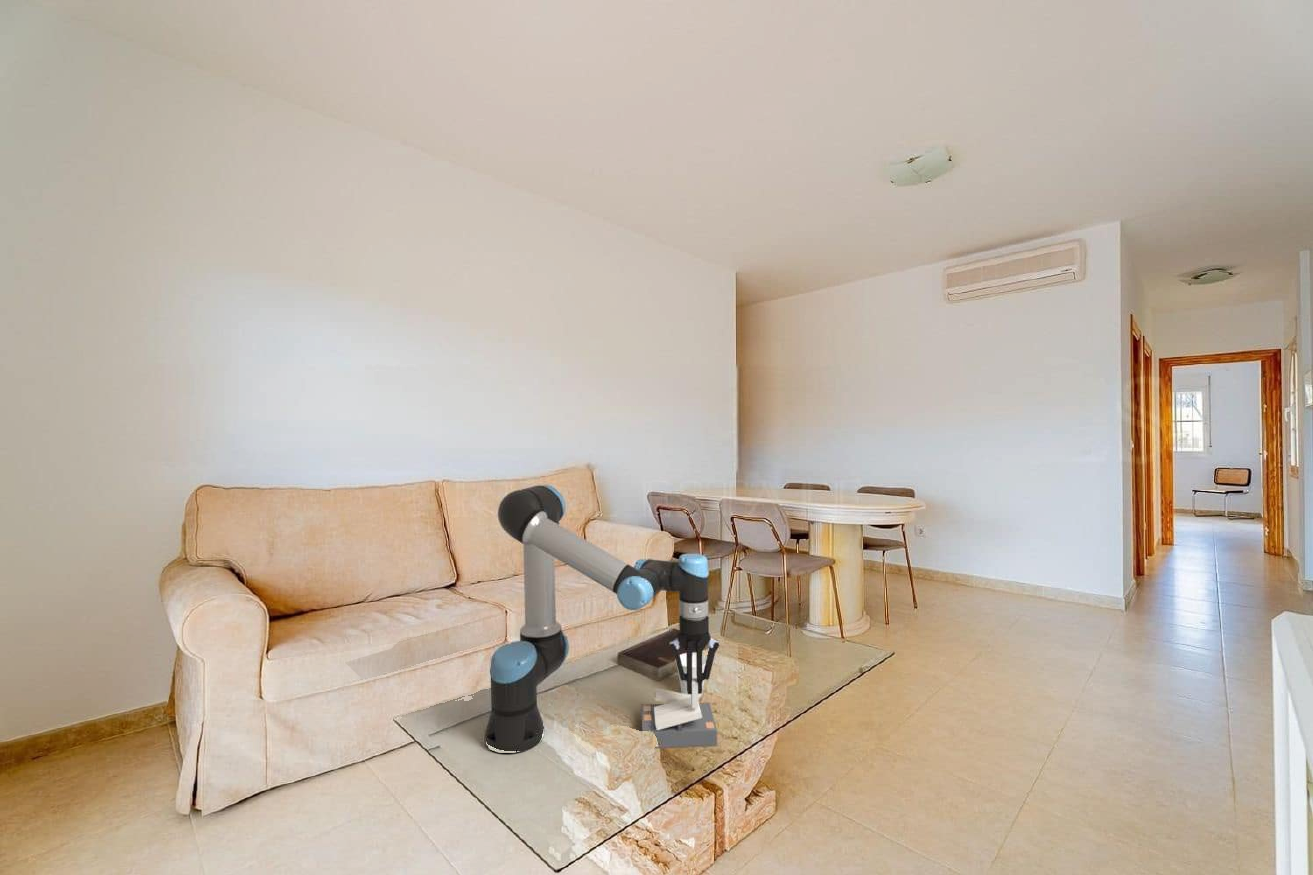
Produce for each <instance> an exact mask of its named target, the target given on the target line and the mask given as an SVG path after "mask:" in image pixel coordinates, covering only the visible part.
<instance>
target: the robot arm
mask: <svg viewBox="0 0 1313 875" xmlns="http://www.w3.org/2000/svg"><path fill="white" fill-rule="evenodd" d="M566 507H567V506H566V501H565V498H564V495H562V493H561V492H560V491H559V490H558V489H557V488H556V487H554V486H552V485H549V484H547V485H546V484H538V485H533V486H531V487H526V488H522V489H517V490H513V491H511V492H509V493H508V494H507V495H505V496H504V497H503V498H502V500H501V501H500V503H499V506H498V508H497V518H498V522H499V524H500V526H501V527H502V529H503V530H504V531H505V533H507V534H508V535H509V536H510V537H511V538H513V539H514V540H516V541H518V542H519V543H521V544H523V545H522V546H523V553H522V554H523V584H524V585H523V586H524V587H523V588H524V594H523V595H524V619H525V620H524V624H523V625H522V627H521V628H520V629H519V640H516V641H511V642H510V643H505V644H503V645H501V646H500V647H498V648H497V649H496V650H495V651H494V652H493V653H492V656H491V658H490V666H489V675H490V702H491V703H490V704H491V706H490V707H491V709H490V710H491V711H490V715H489V718H488V722H487V724H486V727H485V731H484V741H485V740H486V742H487V744H488V745H490V746H492V747H494V748H496V749H499V750H504V751H516V752H517V751H523V752H525V751H524V750H526V751H529V750H530V749H533V748H535V747H536V746H537V745H538V744H540V743H541V741H542V740H541V738H542V734H543V729H544V730H545V725H544V726H543V723H544V721H543V718H542V715H541V712H540V710H539V707H538V699H537V698H538V696H537V695H538V691H537V690H538V686H539V685H540V684H541V683H543V682H544V681H545V680H546V679H547V678H548V677H550V676H551V675H552V674H553V673H554V672H556V671H558V670H559V668H560V667H561V666H562V665H563V663H564V662H565V661H566V659H567V657H568V655H569V650H570V649H569V646H570V645H569V644H570V643H569V640H568V637H567V635H566V634H565V633H564V631H563V630H562V625H561V623H559V622H558V621H557V616H556V615H557V614H556V613H557V610H556V609H557V608H556V575H555V574H556V571H555V570H556V569H555V566H556V564H555V563H556V562H555V559H556V560H558V561H560V562H562V563H563V564H565V565H567V566H568V567H570V568H572V569H573V570H575V571H577V572H579V573H580V574H582V575H584V576H585V577H587V578H589V579H591V580H592V581H594V582H596V583H597V584H599V585H600V586H602V587H604V588H605V589H607V590H608V591H611V592H612V593H614V594H615V595H616V597H617V599H618V601H619V603H620V605H621V606H622V607H624V608H625V609H626V610H629V611H637V610H640V609H642V608H643V607H645V606H647V605H648V604H649V603H650V602H652V600H653V599H654V598H655V597H656V596H657V595H658V594H659V593H660V592H662V591H664V592H665V591H666V592H678V593H679V594H678V600H679V601H678V604H679V605H678V607H679V608H678V614H679V616H678V617H679V623H678V626H679V629H678V630H679V634H678V637H677V639H676V640H674V641H670V642H669V644H670V648H671V650H672V651H673V653H674V655H675V659H676V663H677V667H678V671H679V674H678V676H679V675H680V678H681V680H682V681H684V680H685V681H687V693H688V694H691V705H692V708H698V700H699V699H698V694H701V693H702V682H703V680H704V681H705V680H706V681H707V680H709V679H710V676H711V672H712V668H713V664H714V663H713V662H714V660H715V656H716V655H715V654H716V652H717V650H718V649H719V647H720V644H719V641H718V640H717V639H713V638H712V636H711V634H710V630H709V629H710V627H709V624H710V623H709V621H710V619H709V617H710V616H709V575H710V572H709V564H708V558H707V557H706V556H705V555H703V554H700V553H684V554H681V555H680V556H679V558H678V560H677V561H670V560H659V559H653V558H647V559H644V558H643V559H642V558H641V559H638V560H637V561H636V562H635V564H634V566H631V565H630V564H628V563H627V562H624V561H623V560H621V559H619V558H618V557H616V556H614V554H613V555H612V554H611V553H609V552H607V551H606V550H604V549H602V548H600V547H598V546H597V545H595V544H593V543H592V542H590V541H588V540H586V539H585V538H583V537H581V536H579V535H577V534H576V533H574V532H572V531H570V530H569V529H567V528H565V527H563V525H560V521H561V520H562V518H563V517H564V515H565V513H566V509H567V508H566ZM679 643H680V644H681V645H682V646H683V648H684V649H685V650H686V660H687V674H685V673H684V670H683V667H682V663H681V659H680V655H679V651H678V649H679ZM708 643H709V651H708V655H707V656H706V657H707V660H706V664H705V668H704V672H703V673H702V651H703V650H704V648H705V647H706V646H707V644H708ZM692 652H696V675H697V678H692ZM702 694H703V693H702ZM540 740H541V741H540ZM528 749H529V750H528Z"/></svg>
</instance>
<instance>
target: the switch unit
mask: <svg viewBox="0 0 1313 875" xmlns="http://www.w3.org/2000/svg"><path fill="white" fill-rule="evenodd" d="M663 704H664V703H653V704H652V703H651V704H650V703H649V704H641V705H640V706H641V707H640V708H641V714H640V715H641V731H642V730H643V731H651V732H653V733H654V734H655V736H656V738H657V741H658V745H659V748H658V749H665V748H692V747H693V748H694V747H698V748H700V747H716V746H718V730H717V726H716V722H715V718H714V715H713V711H712V708H711V704H710V702H699V706H700V710H701V714H702V718H700V719H696V720H692V721H689V722H685V723H682V724H678V725H675V726H671V727H667V728H664V729H660V730H657V729H656V725H655V714H654V707H656V706H660V705H663Z"/></svg>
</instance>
